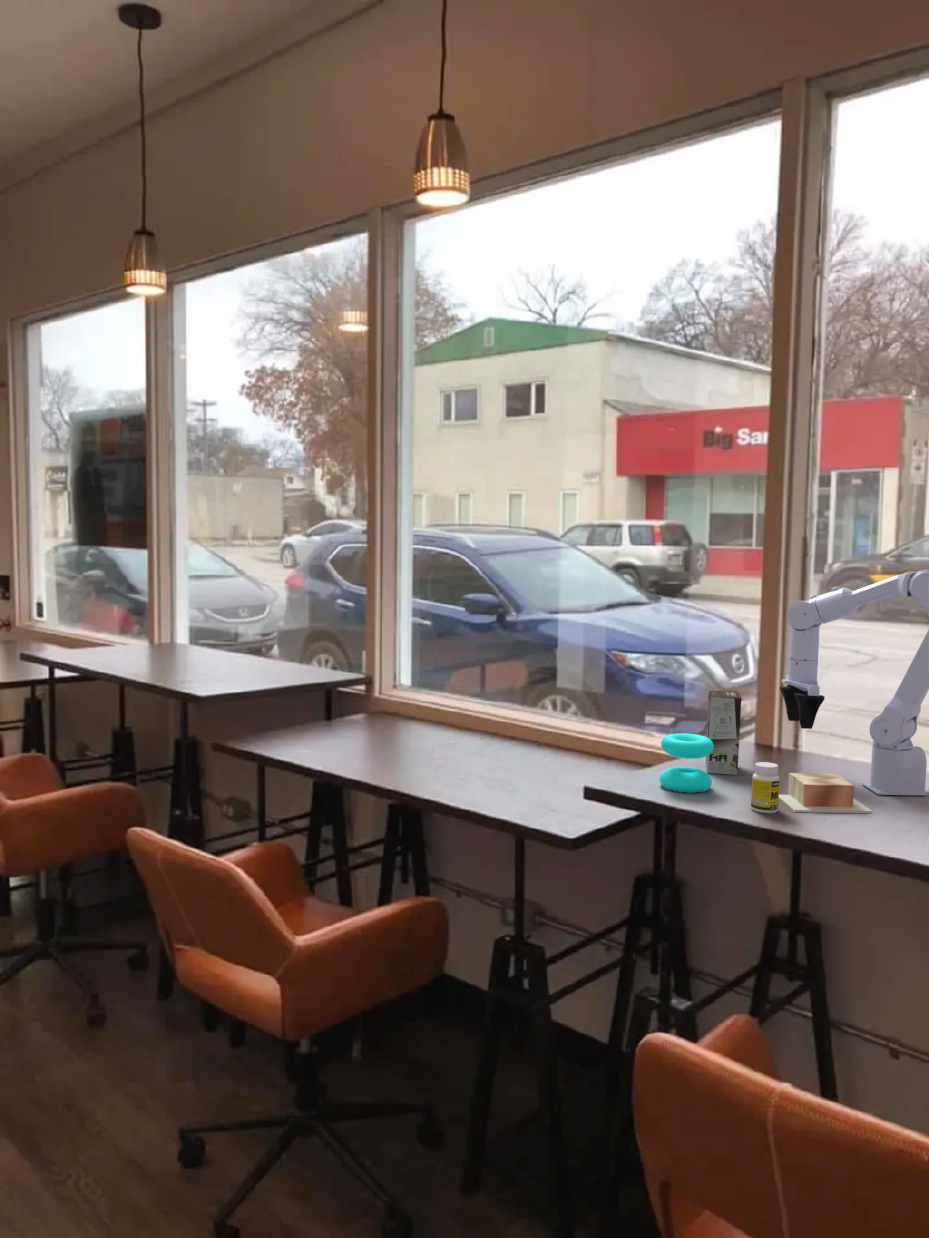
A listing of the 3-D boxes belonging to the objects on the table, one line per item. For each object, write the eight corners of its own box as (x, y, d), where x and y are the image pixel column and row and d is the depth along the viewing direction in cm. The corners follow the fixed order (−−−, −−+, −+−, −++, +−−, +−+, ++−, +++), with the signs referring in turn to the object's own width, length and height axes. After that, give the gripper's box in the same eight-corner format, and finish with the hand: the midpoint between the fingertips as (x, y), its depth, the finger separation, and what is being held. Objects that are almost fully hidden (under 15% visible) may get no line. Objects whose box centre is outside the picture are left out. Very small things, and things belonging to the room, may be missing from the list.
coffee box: (738, 775, 203) (742, 697, 202) (706, 773, 205) (709, 696, 203) (735, 765, 212) (739, 690, 211) (704, 763, 214) (707, 689, 212)
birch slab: (836, 773, 189) (854, 785, 180) (835, 794, 189) (852, 807, 181) (789, 772, 189) (804, 784, 180) (788, 793, 189) (803, 806, 180)
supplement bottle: (773, 815, 176) (776, 769, 175) (747, 810, 178) (749, 765, 178) (780, 809, 180) (783, 763, 179) (754, 804, 183) (757, 759, 182)
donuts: (656, 731, 197) (706, 732, 198) (654, 780, 198) (704, 781, 198) (667, 742, 187) (719, 743, 188) (665, 794, 188) (717, 795, 189)
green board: (849, 797, 188) (849, 795, 188) (871, 813, 178) (871, 810, 178) (776, 796, 188) (776, 794, 188) (794, 812, 178) (794, 809, 178)
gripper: (772, 654, 210) (769, 717, 212) (795, 663, 196) (792, 731, 197) (805, 654, 210) (802, 717, 212) (831, 664, 196) (827, 732, 197)
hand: (799, 724), depth 205 cm, fingers open, 7 cm apart
